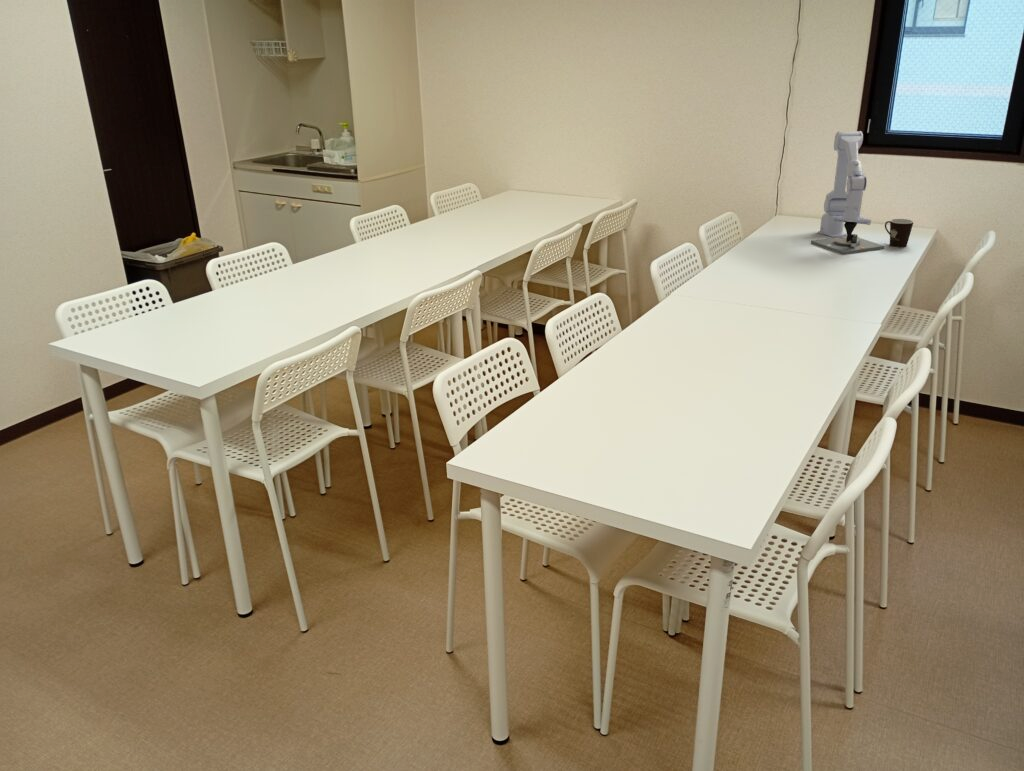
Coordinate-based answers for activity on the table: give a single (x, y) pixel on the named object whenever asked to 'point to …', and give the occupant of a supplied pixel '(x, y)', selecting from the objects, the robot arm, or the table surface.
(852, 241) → the dial
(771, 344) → the table surface
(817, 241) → the panel
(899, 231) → the coffee mug
